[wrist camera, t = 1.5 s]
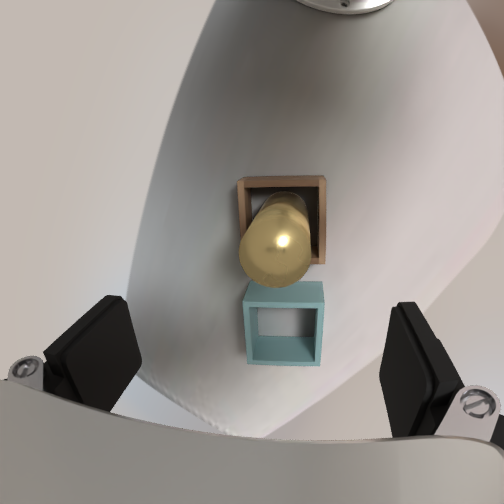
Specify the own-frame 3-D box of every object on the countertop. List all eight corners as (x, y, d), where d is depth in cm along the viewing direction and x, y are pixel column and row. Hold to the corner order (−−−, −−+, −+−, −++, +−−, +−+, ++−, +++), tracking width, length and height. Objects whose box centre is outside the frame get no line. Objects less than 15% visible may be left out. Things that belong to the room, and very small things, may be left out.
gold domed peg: (260, 191, 26) (236, 220, 17) (307, 190, 26) (311, 219, 16) (262, 237, 28) (241, 287, 18) (308, 237, 27) (310, 288, 18)
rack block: (250, 280, 29) (242, 301, 26) (322, 281, 28) (324, 302, 24) (253, 339, 31) (247, 363, 28) (318, 340, 30) (319, 366, 27)
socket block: (244, 177, 26) (237, 181, 23) (323, 175, 25) (325, 179, 22) (248, 251, 28) (242, 263, 25) (323, 251, 27) (325, 264, 24)
